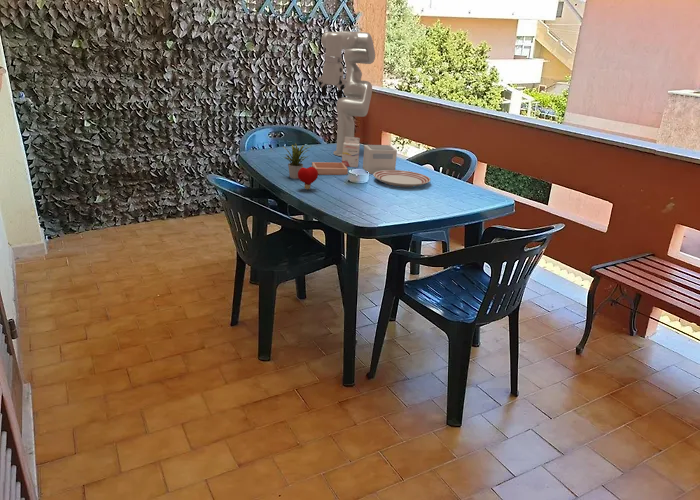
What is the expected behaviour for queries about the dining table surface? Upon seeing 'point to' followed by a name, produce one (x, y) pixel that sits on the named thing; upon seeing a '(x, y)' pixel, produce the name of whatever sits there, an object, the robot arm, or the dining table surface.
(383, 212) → the dining table surface
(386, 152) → the grey unit
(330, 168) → the tray
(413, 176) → the dinner plate
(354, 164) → the ink cartridge box
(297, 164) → the house plant
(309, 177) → the red heart ornament
